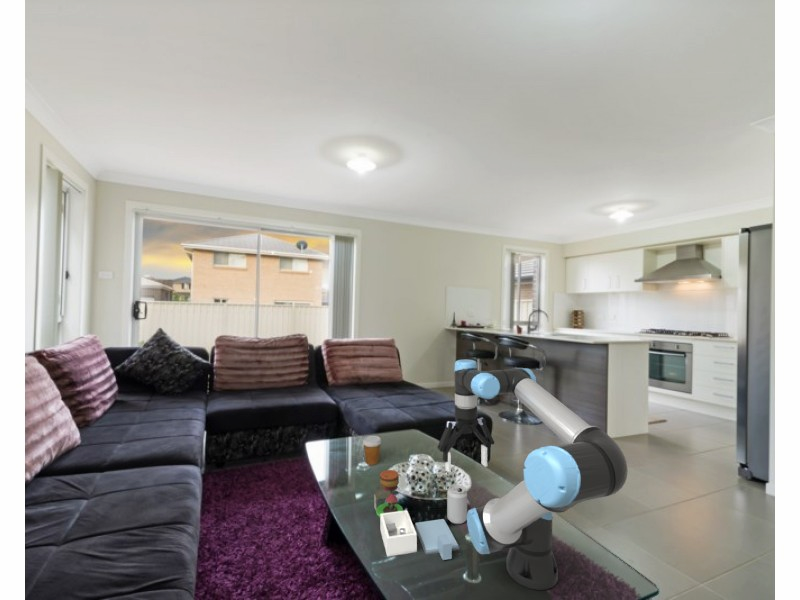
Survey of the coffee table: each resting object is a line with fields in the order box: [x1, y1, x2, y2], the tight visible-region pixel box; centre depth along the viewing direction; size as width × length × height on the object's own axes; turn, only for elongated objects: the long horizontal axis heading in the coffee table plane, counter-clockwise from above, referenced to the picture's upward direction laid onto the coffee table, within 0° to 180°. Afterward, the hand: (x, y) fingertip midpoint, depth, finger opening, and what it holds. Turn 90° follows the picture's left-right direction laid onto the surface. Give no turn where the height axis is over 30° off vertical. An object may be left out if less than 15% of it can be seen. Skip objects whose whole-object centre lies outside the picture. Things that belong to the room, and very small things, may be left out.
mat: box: [413, 522, 461, 556], centre depth 133 cm, size 15×12×1 cm
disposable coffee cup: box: [362, 435, 382, 466], centre depth 191 cm, size 10×10×12 cm
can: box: [446, 484, 468, 525], centre depth 144 cm, size 8×8×12 cm
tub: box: [379, 510, 418, 558], centre depth 132 cm, size 14×10×6 cm
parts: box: [387, 523, 406, 537], centre depth 132 cm, size 10×6×3 cm, turn 12°
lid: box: [414, 518, 459, 561], centre depth 131 cm, size 20×11×5 cm, turn 12°
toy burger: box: [373, 469, 404, 518], centre depth 149 cm, size 12×13×15 cm
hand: (466, 467), depth 129 cm, fingers open, 13 cm apart
